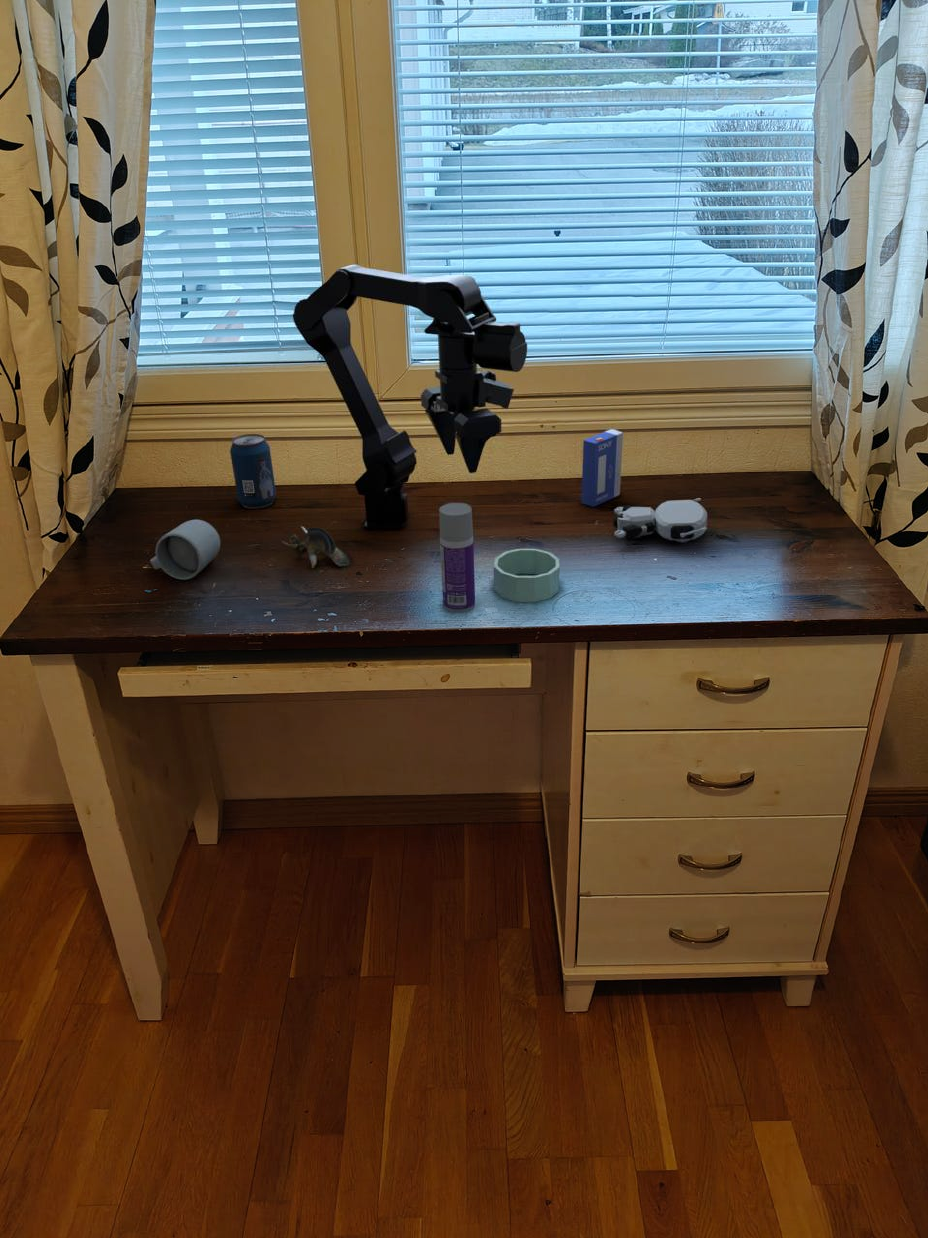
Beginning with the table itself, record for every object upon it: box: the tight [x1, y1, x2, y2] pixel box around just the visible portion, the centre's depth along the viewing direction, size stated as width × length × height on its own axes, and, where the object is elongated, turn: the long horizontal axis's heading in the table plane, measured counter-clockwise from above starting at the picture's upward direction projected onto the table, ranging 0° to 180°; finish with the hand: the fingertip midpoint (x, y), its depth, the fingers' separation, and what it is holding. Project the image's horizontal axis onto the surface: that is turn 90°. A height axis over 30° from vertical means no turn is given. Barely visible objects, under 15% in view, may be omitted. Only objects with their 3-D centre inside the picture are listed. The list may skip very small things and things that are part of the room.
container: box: [438, 502, 476, 614], centre depth 134 cm, size 5×5×15 cm
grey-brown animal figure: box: [281, 525, 351, 569], centre depth 150 cm, size 8×7×9 cm
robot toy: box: [612, 497, 708, 543], centre depth 155 cm, size 12×4×15 cm
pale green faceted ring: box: [493, 548, 561, 603], centre depth 141 cm, size 10×10×4 cm
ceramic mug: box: [149, 519, 221, 581], centre depth 149 cm, size 11×8×8 cm
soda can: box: [229, 433, 277, 509], centre depth 170 cm, size 7×7×12 cm
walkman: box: [581, 428, 624, 508], centre depth 167 cm, size 8×3×12 cm, turn 134°
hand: (461, 463), depth 151 cm, fingers open, 9 cm apart
